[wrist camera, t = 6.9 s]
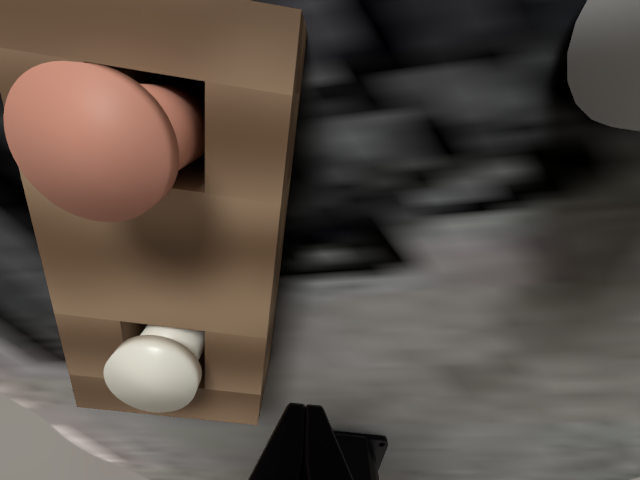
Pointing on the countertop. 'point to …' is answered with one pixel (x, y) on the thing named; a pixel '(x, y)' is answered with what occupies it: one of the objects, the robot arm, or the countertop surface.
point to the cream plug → (157, 368)
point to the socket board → (175, 191)
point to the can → (607, 62)
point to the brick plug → (101, 137)
